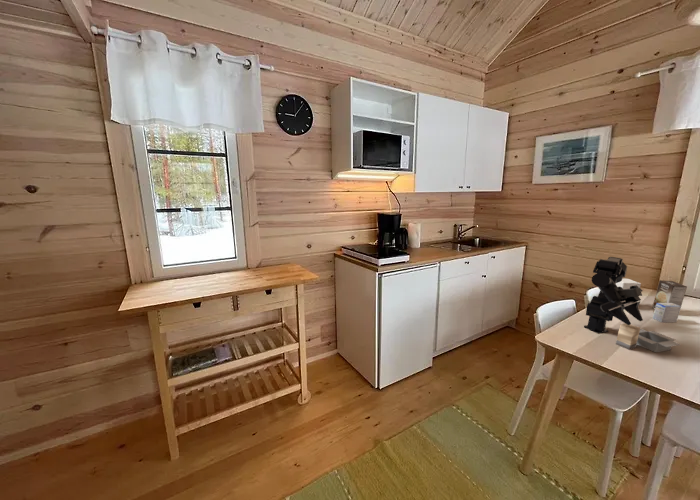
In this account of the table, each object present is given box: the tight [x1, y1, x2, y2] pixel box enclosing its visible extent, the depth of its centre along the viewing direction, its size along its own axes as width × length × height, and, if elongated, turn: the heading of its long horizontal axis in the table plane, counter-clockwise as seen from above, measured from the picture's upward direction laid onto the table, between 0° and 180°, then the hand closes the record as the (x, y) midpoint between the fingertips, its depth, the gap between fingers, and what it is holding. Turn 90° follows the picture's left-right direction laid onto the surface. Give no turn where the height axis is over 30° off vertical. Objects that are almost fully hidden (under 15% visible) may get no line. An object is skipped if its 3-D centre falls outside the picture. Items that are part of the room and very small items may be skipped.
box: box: [615, 322, 641, 350], centre depth 119 cm, size 4×4×9 cm
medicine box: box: [652, 303, 682, 323], centre depth 144 cm, size 8×4×9 cm, turn 92°
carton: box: [636, 328, 681, 353], centre depth 120 cm, size 14×14×4 cm
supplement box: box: [616, 277, 642, 307], centre depth 161 cm, size 9×9×15 cm
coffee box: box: [652, 279, 688, 310], centre depth 154 cm, size 9×6×16 cm
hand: (635, 322), depth 116 cm, fingers open, 9 cm apart
